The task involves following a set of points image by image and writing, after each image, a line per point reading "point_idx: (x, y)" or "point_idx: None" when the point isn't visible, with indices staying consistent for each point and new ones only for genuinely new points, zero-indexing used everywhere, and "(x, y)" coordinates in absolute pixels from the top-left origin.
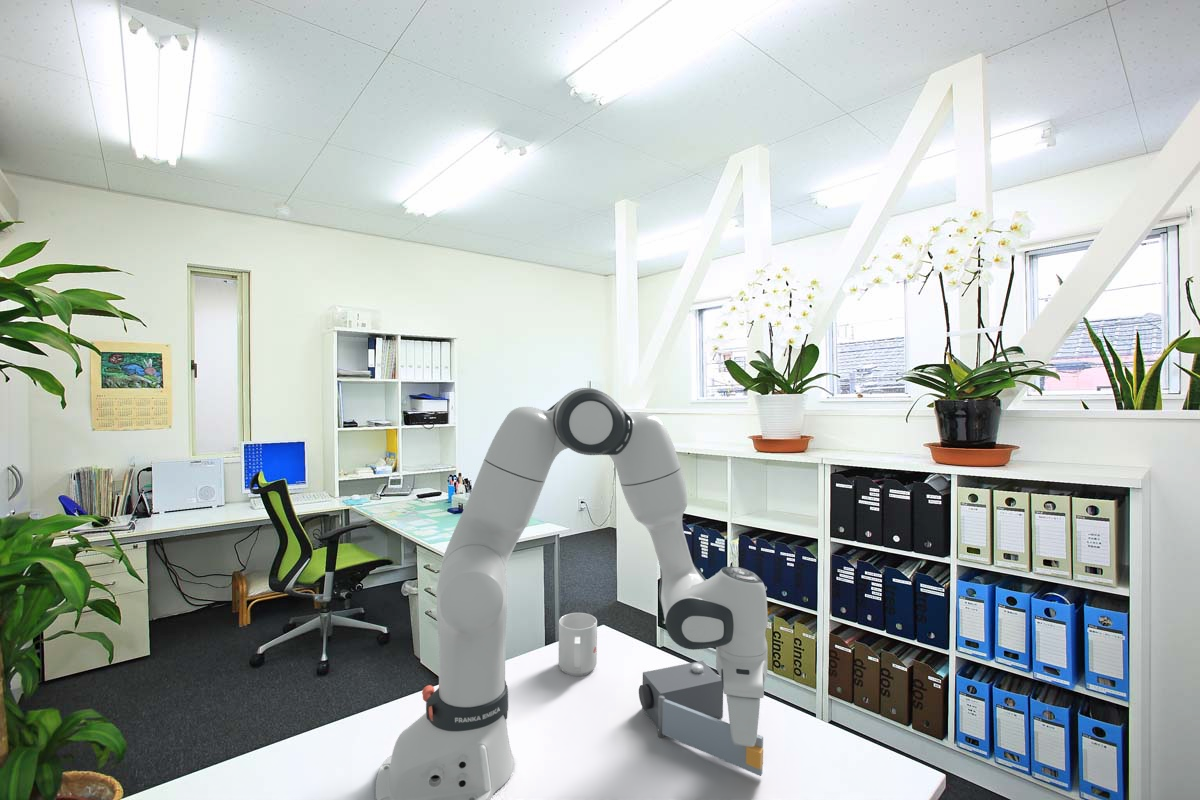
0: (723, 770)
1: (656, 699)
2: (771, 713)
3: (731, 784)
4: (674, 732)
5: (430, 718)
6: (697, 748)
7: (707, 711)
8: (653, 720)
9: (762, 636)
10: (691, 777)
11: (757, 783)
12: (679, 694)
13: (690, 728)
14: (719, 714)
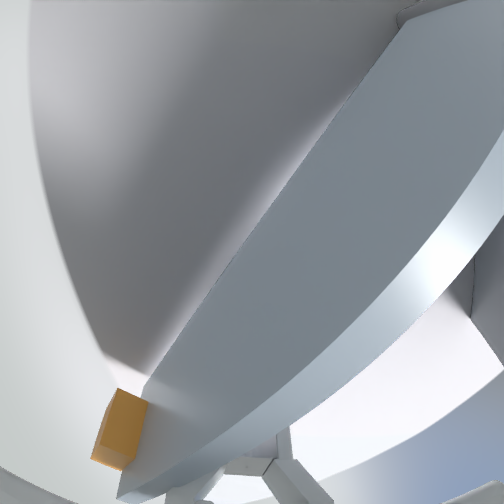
0: (166, 283)
1: None
2: (428, 417)
3: (99, 295)
4: (385, 69)
5: None
6: (281, 191)
7: (495, 289)
8: None
9: None
10: (97, 137)
11: (131, 365)
12: None
13: (339, 180)
14: (477, 317)
